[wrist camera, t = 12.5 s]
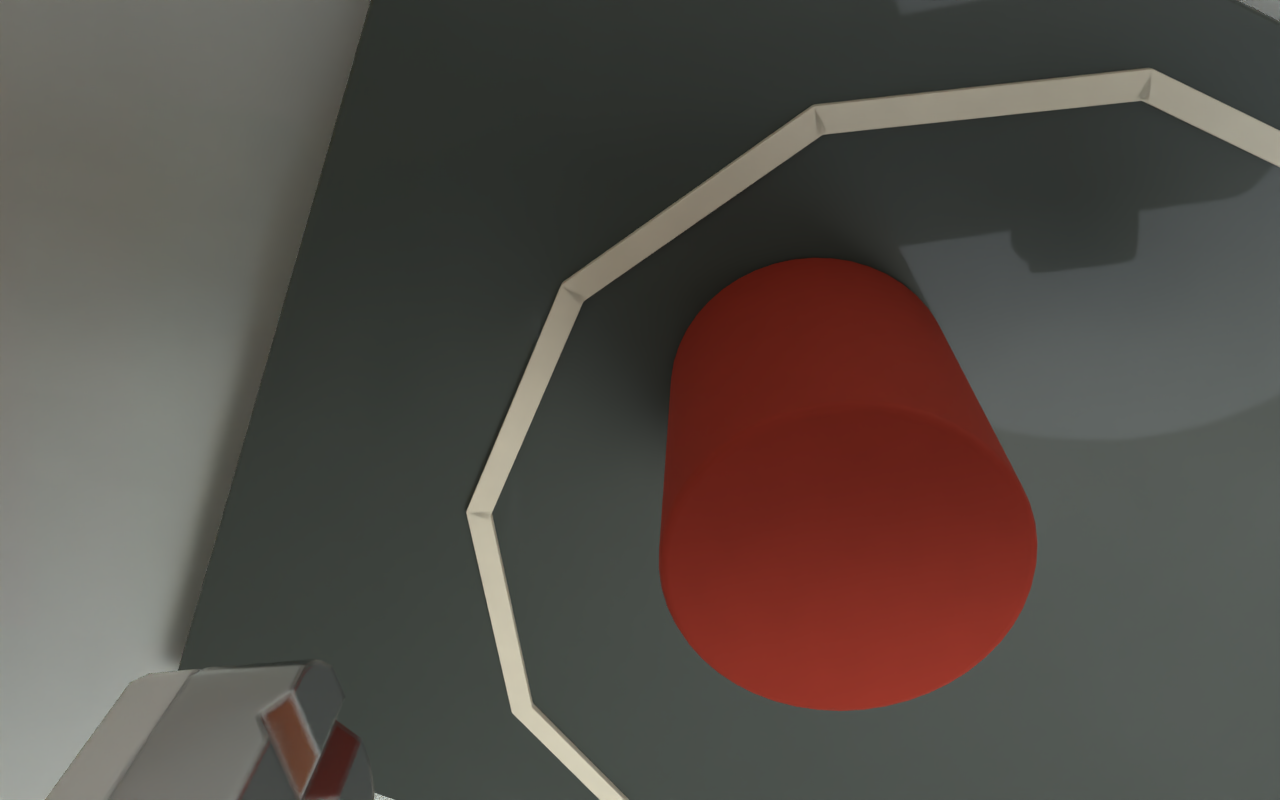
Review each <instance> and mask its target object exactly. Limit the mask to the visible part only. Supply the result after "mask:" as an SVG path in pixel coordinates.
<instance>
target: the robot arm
mask: <svg viewBox="0 0 1280 800" xmlns="http://www.w3.org/2000/svg"><path fill="white" fill-rule="evenodd" d="M344 699H345V694H344V692H343V690H342V688H341V685H340V683H339V681H338V678H337V676H336V674H335V672H334V669H333V667H332V665H330V664H328V663H326V662H324V661H321V660H319V659H305V660H293V661H281V662H269V663H257V664H245V665H233V666H220V667H208V668H204V669H202V670H199V669H192V670H181V671H171V672H160V673H150V674H147V675H145V676H143V677H140V678H138V679H136V680H134V681H132V682H130V683H129V685H128V686H127V687H126V689H125V690H124V692H123V693H122V694H121V696H120V697H119V698H118V700H117V701H116V703H115V704H114V705H113V707H112V708H111V709H110V711H109V712H108V714H107V715H106V716H105V718H104V719H103V720H102V722H101V723H100V725H99V726H98V727H97V729H96V730H95V731H94V733H93V734H92V736H91V737H90V738H89V740H88V741H87V742H86V744H85V745H84V747H83V748H82V749H81V751H80V752H79V753H78V755H77V756H76V758H75V759H74V760H73V762H72V763H71V764H70V766H69V767H68V769H67V770H66V771H65V773H64V774H63V775H62V777H61V778H60V780H59V781H58V782H57V784H56V785H55V786H54V788H53V789H52V791H51V792H50V793H49V795H48V796H47V797H46V799H45V800H374V792H375V789H374V782H373V776H372V769H371V763H370V760H369V757H368V754H367V751H366V749H365V746H364V743H363V741H362V738H360V737H359V736H357V735H356V734H355V733H353V732H352V731H351V730H349V729H348V728H347V727H345V726H344V725H343V724H341V723H340V722H339V721H337V720H336V718H337V716H338V713H339V711H340V709H341V706H342V704H343V702H344Z"/></svg>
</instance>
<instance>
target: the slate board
mask: <svg viewBox="0 0 1280 800" xmlns="http://www.w3.org/2000/svg"><path fill="white" fill-rule="evenodd" d="M804 258H833V259H840V260H846V261H852V262H855V263H859V264H862V265H866V266H869V267H872V268H874V269H876V270H878V271H881V272H883V273H885V274H887V275H889V276H890V277H892V278H894V279H895V280H897V281H899V282H900V283H902V284H903V285H904V286H906V287H907V288H908V289H909V290H911V291H912V292H913V293H914V294H915V295H916V296H917V297H918V298H919V299H920V300H921V301H922V302H923V303H924V304H925V305H926V307H927V308H928V309H929V310H930V312H931V313H932V315H933V316H934V318H935V319H936V321H937V322H938V324H939V326H940V328H941V330H942V332H943V334H944V336H945V338H946V340H947V342H948V344H949V345H950V347H951V349H952V351H953V353H954V355H955V357H956V359H957V361H958V363H959V365H960V367H961V369H962V371H963V372H964V374H965V376H966V378H967V380H968V382H969V384H970V386H971V388H972V390H973V392H974V394H975V396H976V398H977V400H978V401H979V403H980V405H981V407H982V409H983V411H984V413H985V415H986V417H987V419H988V421H989V423H990V425H991V427H992V429H993V430H994V432H995V434H996V436H997V438H998V440H999V442H1000V444H1001V446H1002V448H1003V450H1004V452H1005V454H1006V456H1007V458H1008V459H1009V461H1010V463H1011V465H1012V467H1013V469H1014V471H1015V473H1016V475H1017V477H1018V479H1019V481H1020V483H1021V485H1022V487H1023V489H1024V491H1025V493H1026V495H1027V498H1028V500H1029V502H1030V505H1031V509H1032V512H1033V516H1034V519H1035V524H1036V533H1037V543H1038V544H1037V562H1036V568H1035V572H1034V577H1033V581H1032V586H1031V589H1030V592H1029V594H1028V597H1027V599H1026V602H1025V605H1024V607H1023V609H1022V611H1021V613H1020V614H1019V616H1018V618H1017V620H1016V621H1015V623H1014V625H1013V626H1012V628H1011V629H1010V630H1009V632H1008V633H1007V634H1006V636H1005V637H1004V638H1003V640H1002V641H1001V642H1000V643H999V644H998V645H997V646H996V647H995V648H994V649H993V650H992V651H991V652H990V653H989V654H988V655H987V656H986V657H985V658H984V659H983V660H982V661H981V662H979V663H978V664H977V665H975V666H974V667H973V668H972V669H970V670H969V671H968V672H966V673H965V674H963V675H962V676H960V677H958V678H957V679H955V680H954V681H952V682H950V683H949V684H947V685H945V686H942V687H940V688H938V689H936V690H934V691H932V692H930V693H928V694H925V695H922V696H919V697H917V698H914V699H911V700H908V701H905V702H901V703H897V704H893V705H889V706H885V707H878V708H871V709H865V710H848V711H832V710H816V709H809V708H802V707H796V706H792V705H788V704H784V703H780V702H776V701H773V700H770V699H768V698H765V697H762V696H760V695H757V694H754V693H752V692H750V691H748V690H746V689H744V688H742V687H740V686H738V685H736V684H735V683H733V682H732V681H730V680H729V679H727V678H726V677H724V676H723V675H721V674H720V673H718V672H717V671H716V670H714V669H713V668H712V667H711V666H710V665H709V664H708V663H706V662H705V661H704V660H703V659H702V658H701V657H700V656H699V655H698V654H697V652H696V651H695V650H694V649H693V648H692V647H691V646H690V645H689V643H688V642H687V640H686V639H685V637H684V636H683V634H682V633H681V631H680V630H679V628H678V627H677V625H676V624H675V622H674V620H673V618H672V616H671V613H670V611H669V609H668V607H667V604H666V601H665V598H664V594H663V591H662V588H661V581H660V573H659V544H660V530H661V515H662V501H663V487H664V473H665V458H666V444H667V430H668V415H669V401H670V387H671V376H672V370H673V364H674V360H675V357H676V354H677V351H678V347H679V345H680V343H681V341H682V339H683V337H684V334H685V332H686V330H687V329H688V327H689V326H690V324H691V323H692V321H693V320H694V318H695V317H696V315H697V314H698V313H699V312H700V311H701V310H702V308H703V307H704V306H705V305H706V304H707V303H708V302H709V301H710V300H711V299H712V298H713V297H714V296H716V295H717V294H718V293H719V292H720V291H721V290H723V289H724V288H725V287H727V286H728V285H730V284H731V283H733V282H734V281H736V280H737V279H739V278H741V277H743V276H745V275H747V274H749V273H751V272H753V271H755V270H758V269H761V268H763V267H766V266H769V265H772V264H775V263H780V262H784V261H789V260H794V259H804ZM305 659H319V660H321V661H324V662H326V663H328V664H330V665H332V667H333V669H334V672H335V674H336V676H337V678H338V681H339V683H340V685H341V688H342V690H343V692H344V694H345V699H344V702H343V704H342V706H341V709H340V711H339V713H338V716H337V718H336V720H337V721H339V722H340V723H341V724H343V725H344V726H345V727H347V728H348V729H349V730H351V731H352V732H353V733H355V734H356V735H357V736H359V737H360V738H362V741H363V743H364V746H365V749H366V751H367V754H368V757H369V760H370V763H371V769H372V776H373V782H374V789H375V792H374V793H377V794H380V795H383V796H386V797H389V798H392V799H395V800H1280V22H1279V21H1277V20H1275V19H1273V18H1271V17H1269V16H1268V15H1266V14H1264V13H1262V12H1260V11H1258V10H1256V9H1254V8H1252V7H1250V6H1248V5H1246V4H1244V3H1242V2H1240V1H1238V0H371V1H370V5H369V8H368V12H367V15H366V19H365V22H364V25H363V29H362V32H361V36H360V39H359V43H358V46H357V50H356V53H355V57H354V60H353V64H352V67H351V71H350V74H349V78H348V81H347V85H346V88H345V92H344V95H343V98H342V102H341V105H340V109H339V112H338V116H337V119H336V123H335V126H334V130H333V133H332V137H331V140H330V144H329V147H328V151H327V154H326V158H325V161H324V165H323V168H322V171H321V175H320V178H319V182H318V185H317V189H316V192H315V196H314V199H313V203H312V206H311V210H310V213H309V217H308V220H307V224H306V227H305V231H304V234H303V238H302V241H301V244H300V248H299V251H298V255H297V258H296V262H295V265H294V269H293V272H292V276H291V279H290V283H289V286H288V290H287V293H286V297H285V300H284V304H283V307H282V310H281V314H280V317H279V321H278V324H277V328H276V331H275V335H274V338H273V342H272V345H271V349H270V352H269V356H268V359H267V363H266V366H265V370H264V373H263V377H262V380H261V383H260V387H259V390H258V394H257V397H256V401H255V404H254V408H253V411H252V415H251V418H250V422H249V425H248V429H247V432H246V436H245V439H244V443H243V446H242V450H241V453H240V456H239V460H238V463H237V467H236V470H235V474H234V477H233V481H232V484H231V488H230V491H229V495H228V498H227V502H226V505H225V509H224V512H223V516H222V519H221V523H220V526H219V529H218V533H217V536H216V540H215V543H214V547H213V550H212V554H211V557H210V561H209V564H208V568H207V571H206V575H205V578H204V582H203V585H202V589H201V592H200V596H199V599H198V602H197V606H196V609H195V613H194V616H193V620H192V623H191V627H190V630H189V634H188V637H187V641H186V644H185V648H184V651H183V655H182V658H181V662H180V665H179V669H178V671H181V670H192V669H199V670H202V669H204V668H208V667H220V666H233V665H245V664H257V663H269V662H281V661H293V660H305Z"/></svg>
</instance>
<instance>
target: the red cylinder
mask: <svg viewBox="0 0 1280 800" xmlns="http://www.w3.org/2000/svg"><path fill="white" fill-rule="evenodd" d="M1037 544H1038V543H1037V533H1036V524H1035V519H1034V516H1033V512H1032V509H1031V505H1030V502H1029V500H1028V498H1027V495H1026V493H1025V491H1024V489H1023V487H1022V485H1021V483H1020V481H1019V479H1018V477H1017V475H1016V473H1015V471H1014V469H1013V467H1012V465H1011V463H1010V461H1009V459H1008V458H1007V456H1006V454H1005V452H1004V450H1003V448H1002V446H1001V444H1000V442H999V440H998V438H997V436H996V434H995V432H994V430H993V429H992V427H991V425H990V423H989V421H988V419H987V417H986V415H985V413H984V411H983V409H982V407H981V405H980V403H979V401H978V400H977V398H976V396H975V394H974V392H973V390H972V388H971V386H970V384H969V382H968V380H967V378H966V376H965V374H964V372H963V371H962V369H961V367H960V365H959V363H958V361H957V359H956V357H955V355H954V353H953V351H952V349H951V347H950V345H949V344H948V342H947V340H946V338H945V336H944V334H943V332H942V330H941V328H940V326H939V324H938V322H937V321H936V319H935V318H934V316H933V315H932V313H931V312H930V310H929V309H928V308H927V307H926V305H925V304H924V303H923V302H922V301H921V300H920V299H919V298H918V297H917V296H916V295H915V294H914V293H913V292H912V291H911V290H909V289H908V288H907V287H906V286H904V285H903V284H902V283H900V282H899V281H897V280H895V279H894V278H892V277H890V276H889V275H887V274H885V273H883V272H881V271H878V270H876V269H874V268H872V267H869V266H866V265H862V264H859V263H855V262H852V261H846V260H840V259H833V258H804V259H794V260H789V261H784V262H780V263H775V264H772V265H769V266H766V267H763V268H761V269H758V270H755V271H753V272H751V273H749V274H747V275H745V276H743V277H741V278H739V279H737V280H736V281H734V282H733V283H731V284H730V285H728V286H727V287H725V288H724V289H723V290H721V291H720V292H719V293H718V294H717V295H716V296H714V297H713V298H712V299H711V300H710V301H709V302H708V303H707V304H706V305H705V306H704V307H703V308H702V310H701V311H700V312H699V313H698V314H697V315H696V317H695V318H694V320H693V321H692V323H691V324H690V326H689V327H688V329H687V330H686V332H685V334H684V337H683V339H682V341H681V343H680V345H679V347H678V351H677V354H676V357H675V360H674V364H673V370H672V376H671V387H670V401H669V415H668V430H667V444H666V458H665V473H664V487H663V501H662V515H661V530H660V544H659V573H660V581H661V588H662V591H663V594H664V598H665V601H666V604H667V607H668V609H669V611H670V613H671V616H672V618H673V620H674V622H675V624H676V625H677V627H678V628H679V630H680V631H681V633H682V634H683V636H684V637H685V639H686V640H687V642H688V643H689V645H690V646H691V647H692V648H693V649H694V650H695V651H696V652H697V654H698V655H699V656H700V657H701V658H702V659H703V660H704V661H705V662H706V663H708V664H709V665H710V666H711V667H712V668H713V669H714V670H716V671H717V672H718V673H720V674H721V675H723V676H724V677H726V678H727V679H729V680H730V681H732V682H733V683H735V684H736V685H738V686H740V687H742V688H744V689H746V690H748V691H750V692H752V693H754V694H757V695H760V696H762V697H765V698H768V699H770V700H773V701H776V702H780V703H784V704H788V705H792V706H796V707H802V708H809V709H816V710H832V711H848V710H865V709H871V708H878V707H885V706H889V705H893V704H897V703H901V702H905V701H908V700H911V699H914V698H917V697H919V696H922V695H925V694H928V693H930V692H932V691H934V690H936V689H938V688H940V687H942V686H945V685H947V684H949V683H950V682H952V681H954V680H955V679H957V678H958V677H960V676H962V675H963V674H965V673H966V672H968V671H969V670H970V669H972V668H973V667H974V666H975V665H977V664H978V663H979V662H981V661H982V660H983V659H984V658H985V657H986V656H987V655H988V654H989V653H990V652H991V651H992V650H993V649H994V648H995V647H996V646H997V645H998V644H999V643H1000V642H1001V641H1002V640H1003V638H1004V637H1005V636H1006V634H1007V633H1008V632H1009V630H1010V629H1011V628H1012V626H1013V625H1014V623H1015V621H1016V620H1017V618H1018V616H1019V614H1020V613H1021V611H1022V609H1023V607H1024V605H1025V602H1026V599H1027V597H1028V594H1029V592H1030V589H1031V586H1032V581H1033V577H1034V572H1035V568H1036V562H1037Z"/></svg>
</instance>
